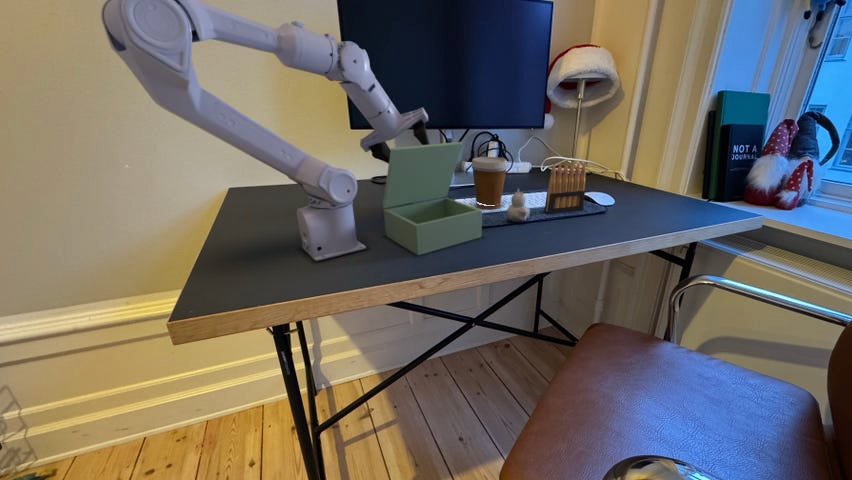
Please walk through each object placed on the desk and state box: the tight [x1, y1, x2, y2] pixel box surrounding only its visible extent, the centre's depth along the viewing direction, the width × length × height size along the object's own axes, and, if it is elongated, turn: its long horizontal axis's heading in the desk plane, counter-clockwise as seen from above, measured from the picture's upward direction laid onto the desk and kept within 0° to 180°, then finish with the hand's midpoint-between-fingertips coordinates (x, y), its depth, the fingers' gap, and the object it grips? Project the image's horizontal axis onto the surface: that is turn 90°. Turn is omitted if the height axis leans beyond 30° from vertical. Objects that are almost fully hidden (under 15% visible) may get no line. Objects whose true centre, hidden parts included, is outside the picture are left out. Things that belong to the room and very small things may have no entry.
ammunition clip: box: [544, 162, 587, 215], centre depth 93 cm, size 11×2×12 cm, turn 112°
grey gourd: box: [506, 187, 531, 223], centre depth 85 cm, size 5×7×8 cm
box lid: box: [382, 141, 463, 209], centre depth 74 cm, size 13×16×1 cm
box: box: [383, 196, 483, 256], centre depth 76 cm, size 13×16×6 cm
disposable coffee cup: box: [470, 156, 509, 210], centre depth 95 cm, size 10×10×12 cm
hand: (415, 160), depth 79 cm, fingers open, 7 cm apart
